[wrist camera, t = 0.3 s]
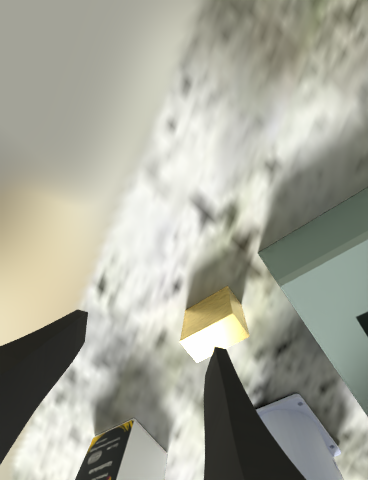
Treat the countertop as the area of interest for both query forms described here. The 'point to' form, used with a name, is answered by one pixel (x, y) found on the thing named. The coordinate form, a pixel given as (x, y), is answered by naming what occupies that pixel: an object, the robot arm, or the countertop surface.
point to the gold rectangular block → (213, 324)
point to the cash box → (331, 285)
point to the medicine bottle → (124, 455)
